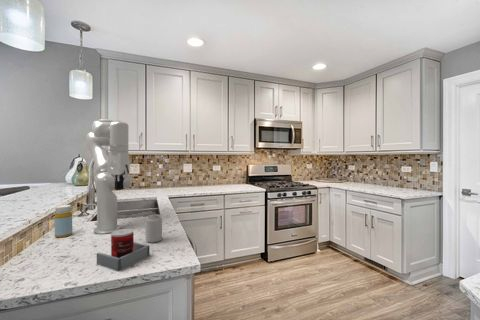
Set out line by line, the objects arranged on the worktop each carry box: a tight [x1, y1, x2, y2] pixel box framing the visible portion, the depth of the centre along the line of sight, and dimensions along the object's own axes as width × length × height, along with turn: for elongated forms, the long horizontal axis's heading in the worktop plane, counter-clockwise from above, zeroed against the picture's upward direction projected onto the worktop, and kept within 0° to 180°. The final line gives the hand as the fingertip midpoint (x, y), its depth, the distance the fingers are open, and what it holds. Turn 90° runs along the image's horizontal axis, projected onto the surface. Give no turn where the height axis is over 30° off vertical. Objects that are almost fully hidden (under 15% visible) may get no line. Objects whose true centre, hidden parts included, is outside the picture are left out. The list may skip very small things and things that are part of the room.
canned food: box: [110, 228, 135, 258], centre depth 90 cm, size 8×8×11 cm
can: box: [144, 213, 163, 244], centre depth 110 cm, size 8×8×12 cm
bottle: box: [54, 204, 73, 239], centre depth 116 cm, size 7×7×15 cm
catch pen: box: [96, 241, 151, 272], centre depth 90 cm, size 12×14×4 cm
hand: (119, 189), depth 106 cm, fingers closed
